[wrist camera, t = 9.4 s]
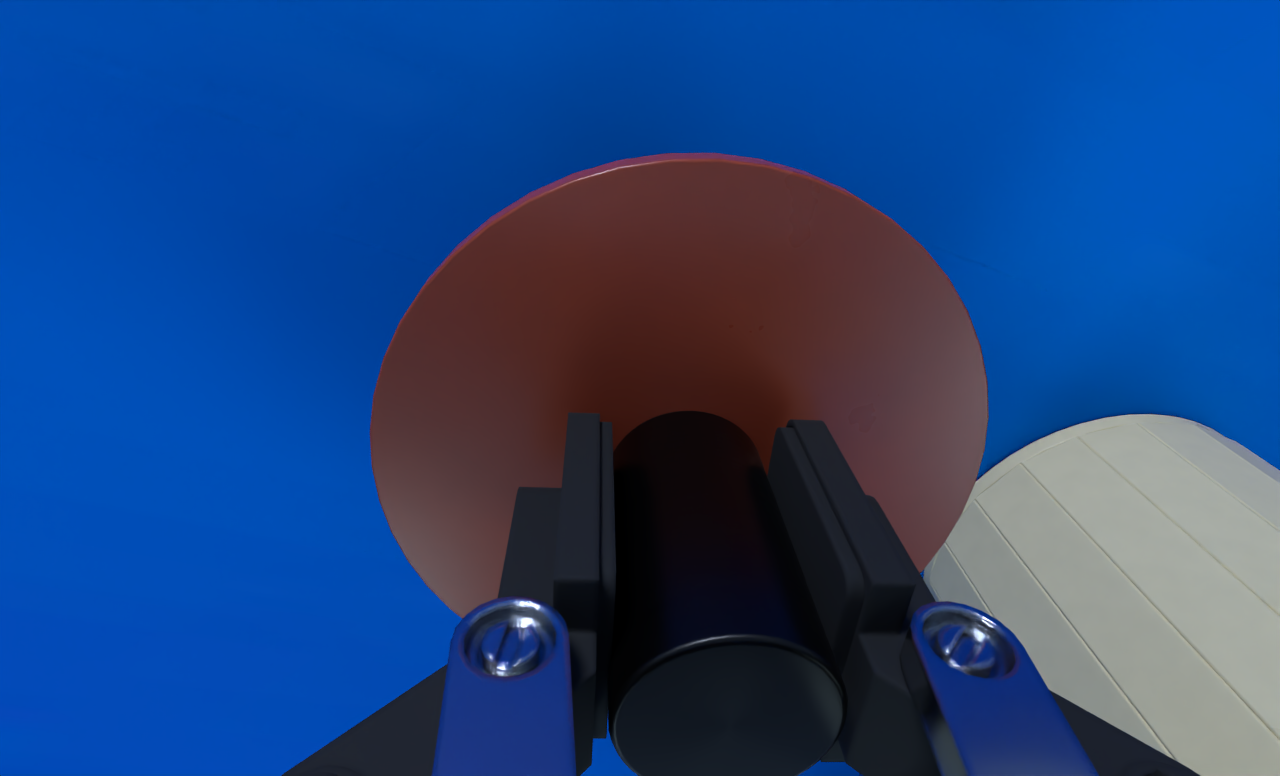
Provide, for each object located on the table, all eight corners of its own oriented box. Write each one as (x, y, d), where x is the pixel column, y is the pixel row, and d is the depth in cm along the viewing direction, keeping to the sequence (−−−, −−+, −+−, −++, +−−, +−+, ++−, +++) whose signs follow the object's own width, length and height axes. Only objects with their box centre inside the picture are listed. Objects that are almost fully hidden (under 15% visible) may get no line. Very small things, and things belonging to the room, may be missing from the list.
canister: (1319, 419, 20) (1903, 745, 11) (1167, 664, 24) (1484, 1029, 16) (977, 406, 19) (1299, 743, 10) (889, 661, 24) (1056, 1041, 15)
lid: (1038, 166, 11) (1455, 295, 6) (885, 643, 16) (1028, 953, 11) (352, 124, 10) (75, 229, 5) (415, 639, 15) (312, 973, 10)
